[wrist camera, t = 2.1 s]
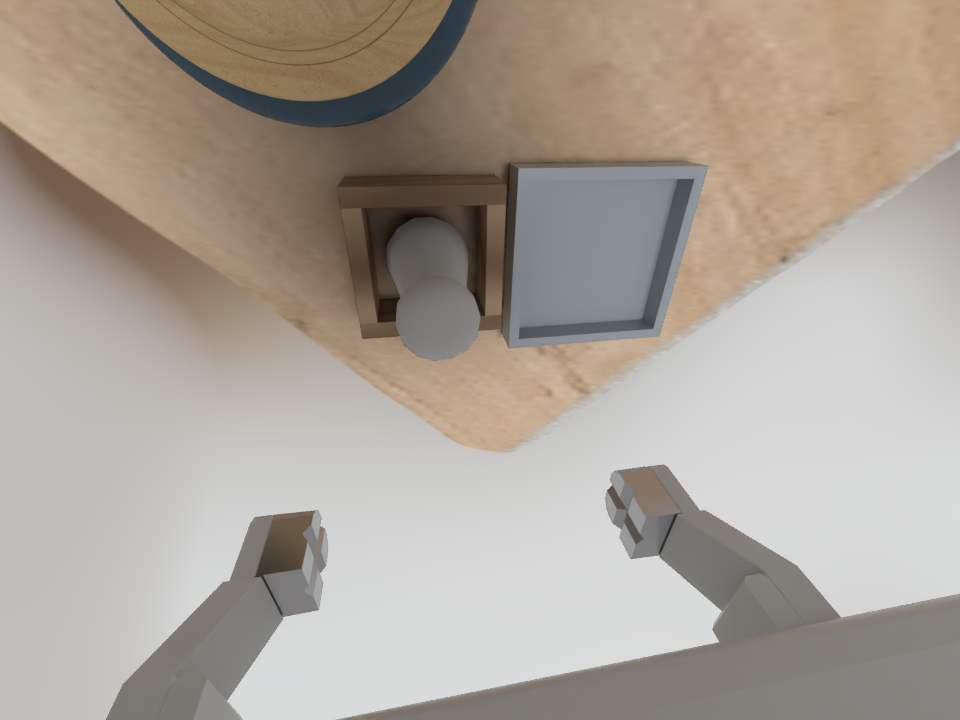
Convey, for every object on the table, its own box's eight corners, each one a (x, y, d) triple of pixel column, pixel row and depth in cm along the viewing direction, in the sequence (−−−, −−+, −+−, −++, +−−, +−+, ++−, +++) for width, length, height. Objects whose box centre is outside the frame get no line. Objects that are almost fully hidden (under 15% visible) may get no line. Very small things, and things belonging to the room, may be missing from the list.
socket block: (344, 176, 27) (336, 187, 24) (494, 174, 28) (506, 184, 25) (366, 314, 32) (362, 338, 29) (490, 306, 34) (500, 328, 31)
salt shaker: (389, 203, 28) (383, 266, 17) (469, 214, 30) (508, 280, 19) (385, 281, 31) (377, 377, 20) (457, 288, 33) (486, 382, 22)
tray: (510, 163, 28) (518, 168, 26) (687, 161, 30) (708, 166, 28) (502, 333, 35) (508, 348, 33) (645, 323, 37) (659, 336, 35)
